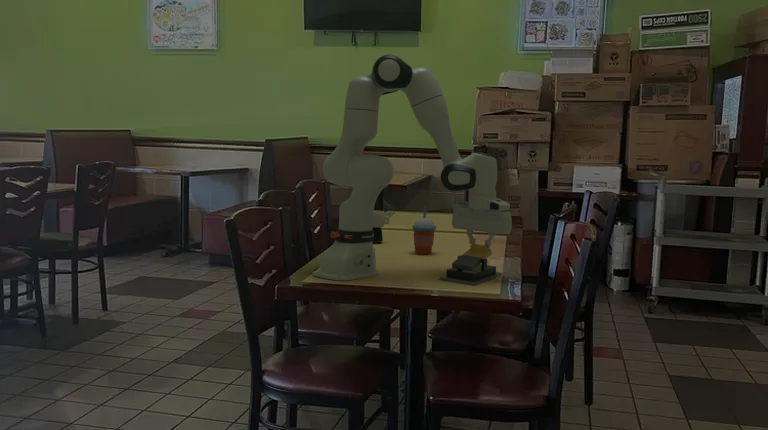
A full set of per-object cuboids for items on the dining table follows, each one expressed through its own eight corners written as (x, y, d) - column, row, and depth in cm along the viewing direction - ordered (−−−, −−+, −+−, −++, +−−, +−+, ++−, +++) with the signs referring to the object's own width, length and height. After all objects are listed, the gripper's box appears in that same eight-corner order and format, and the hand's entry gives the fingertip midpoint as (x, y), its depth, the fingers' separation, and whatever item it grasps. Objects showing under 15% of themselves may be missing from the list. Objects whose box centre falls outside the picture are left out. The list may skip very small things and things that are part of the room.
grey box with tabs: (474, 285, 215) (475, 264, 214) (439, 279, 222) (440, 259, 221) (501, 275, 231) (502, 255, 231) (469, 270, 238) (470, 251, 237)
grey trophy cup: (388, 241, 294) (389, 210, 293) (387, 244, 287) (388, 212, 286) (362, 240, 295) (363, 209, 294) (361, 243, 288) (362, 211, 286)
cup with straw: (433, 256, 264) (435, 208, 262) (409, 254, 265) (411, 207, 263) (436, 252, 273) (438, 206, 270) (413, 250, 274) (415, 204, 272)
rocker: (472, 271, 219) (471, 262, 218) (452, 268, 222) (451, 259, 222) (491, 254, 229) (491, 246, 228) (472, 251, 233) (471, 243, 232)
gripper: (449, 200, 231) (447, 242, 233) (506, 206, 220) (504, 249, 221) (458, 199, 236) (456, 240, 238) (515, 204, 225) (512, 247, 226)
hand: (480, 244), depth 229 cm, fingers open, 4 cm apart
